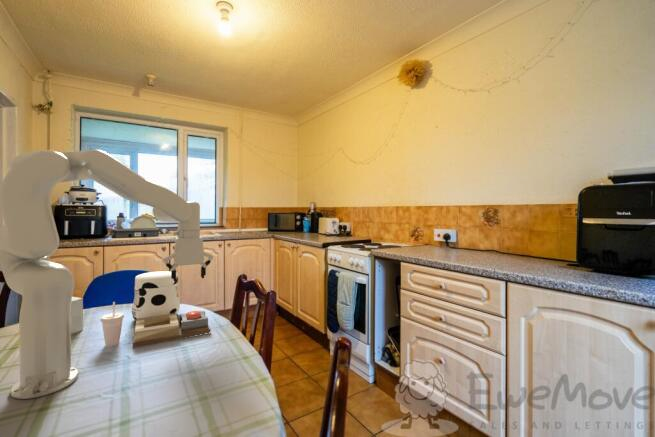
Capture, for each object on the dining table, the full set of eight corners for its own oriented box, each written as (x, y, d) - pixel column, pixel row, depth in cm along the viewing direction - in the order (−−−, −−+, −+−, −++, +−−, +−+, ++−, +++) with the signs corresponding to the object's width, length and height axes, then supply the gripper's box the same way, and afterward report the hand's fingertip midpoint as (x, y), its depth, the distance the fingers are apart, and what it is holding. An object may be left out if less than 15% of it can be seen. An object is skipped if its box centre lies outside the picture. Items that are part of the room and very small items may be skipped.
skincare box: (58, 332, 106) (58, 299, 106) (72, 327, 110) (72, 296, 110) (70, 334, 104) (70, 301, 104) (83, 329, 109) (83, 298, 108)
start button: (201, 322, 111) (201, 314, 111) (186, 324, 108) (187, 316, 108) (199, 318, 115) (199, 310, 115) (185, 320, 113) (185, 312, 113)
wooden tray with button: (210, 333, 108) (210, 320, 108) (132, 347, 96) (132, 332, 96) (204, 320, 121) (204, 308, 120) (135, 331, 108) (135, 318, 108)
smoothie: (128, 340, 101) (128, 300, 101) (113, 349, 95) (113, 306, 94) (111, 339, 102) (111, 299, 101) (95, 347, 95) (95, 305, 95)
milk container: (187, 311, 131) (187, 271, 130) (165, 326, 113) (165, 280, 113) (148, 310, 131) (149, 270, 130) (121, 325, 114) (121, 279, 113)
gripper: (163, 236, 103) (163, 284, 104) (215, 234, 112) (214, 278, 113) (162, 234, 110) (162, 279, 110) (211, 232, 119) (211, 274, 119)
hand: (188, 278), depth 112 cm, fingers open, 9 cm apart
